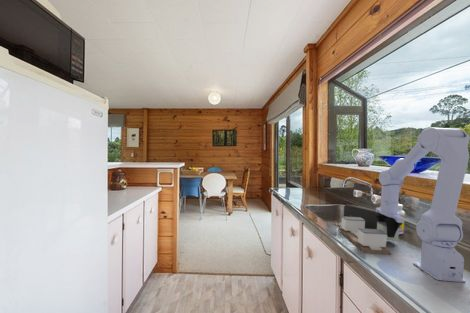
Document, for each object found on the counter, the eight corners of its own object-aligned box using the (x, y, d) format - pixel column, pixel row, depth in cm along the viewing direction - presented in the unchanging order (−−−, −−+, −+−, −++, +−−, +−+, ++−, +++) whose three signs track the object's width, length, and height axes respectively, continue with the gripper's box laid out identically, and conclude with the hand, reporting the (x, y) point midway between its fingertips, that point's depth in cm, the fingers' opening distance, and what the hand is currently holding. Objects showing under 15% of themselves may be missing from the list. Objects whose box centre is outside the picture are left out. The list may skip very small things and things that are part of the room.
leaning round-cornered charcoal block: (382, 231, 103) (383, 210, 102) (378, 233, 100) (380, 212, 100) (346, 221, 115) (347, 203, 115) (342, 222, 112) (343, 204, 112)
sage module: (398, 241, 87) (399, 225, 87) (382, 239, 88) (383, 224, 88) (391, 237, 91) (392, 222, 91) (376, 236, 92) (377, 221, 92)
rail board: (389, 254, 79) (390, 249, 79) (363, 252, 80) (363, 247, 80) (359, 231, 101) (359, 227, 101) (338, 229, 102) (338, 226, 101)
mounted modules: (386, 247, 80) (387, 233, 80) (363, 245, 81) (363, 232, 81) (359, 228, 100) (360, 217, 99) (341, 227, 100) (341, 216, 100)
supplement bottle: (385, 232, 102) (387, 204, 101) (386, 228, 107) (387, 201, 106) (403, 235, 98) (405, 206, 97) (403, 231, 103) (405, 204, 102)
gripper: (413, 206, 82) (410, 243, 82) (388, 197, 96) (386, 229, 97) (393, 205, 82) (390, 241, 82) (371, 197, 97) (369, 228, 97)
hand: (387, 234), depth 90 cm, fingers closed on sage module, 4 cm apart
